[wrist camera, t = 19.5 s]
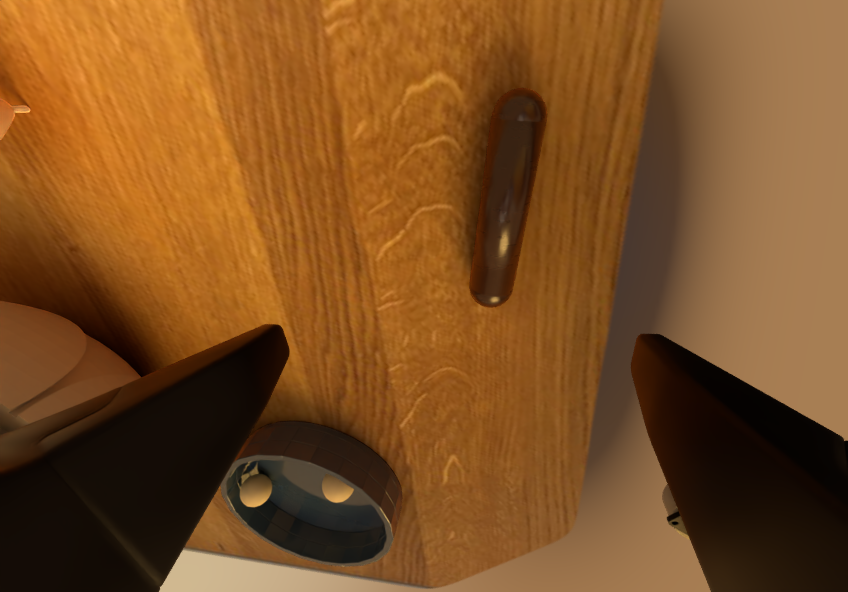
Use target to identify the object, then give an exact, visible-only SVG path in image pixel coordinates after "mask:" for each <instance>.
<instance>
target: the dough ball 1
mask: <svg viewBox="0 0 848 592" xmlns="http://www.w3.org/2000/svg"><path fill="white" fill-rule="evenodd" d="M271 491H272V483H271V480H270V479H269V478H268V477H267V476H266V475H264V474H254V475H252V476H250V477H248V478H247V479H246V480H245V481H244V483H243V484H242V486H241V489H240V499H241V501H242V502H243V504H245V505H246V506H248V507H257V506H260V505H262V504H263V503H264V502H266V501H267V499H268V498H269V496H270V494H271Z"/></svg>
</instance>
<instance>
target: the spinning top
mask: <svg viewBox="0 0 848 592" xmlns="http://www.w3.org/2000/svg"><path fill="white" fill-rule="evenodd" d="M29 112H30V108H29V107H28V106H26V105H17V106H11V105H10V104H9V103H8V102H7V101H5V100H4V99H2V98H0V140H1V139H2V138H3V136H4V135H5V133H6V132H7V130H8V129H9V127H10V125H11V123H12V121H13V119H14V117H15V113H29Z"/></svg>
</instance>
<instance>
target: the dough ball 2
mask: <svg viewBox="0 0 848 592" xmlns="http://www.w3.org/2000/svg"><path fill="white" fill-rule="evenodd" d="M322 490H323V493H324V495H325V497H326V498H327V499H328V500H330V501H332V502H336V503H338V502H343V501H345V500H346V499H348V498H349V497H350V496H351V494H352V493H353V491H354V489H353V488H351V487H349V486H348V485H346V484H345V483H343V482H342V481H340V480H338V479H337V478H335V477H333V476H331V475H328V474H326V475H325V477H324V479H323V483H322Z"/></svg>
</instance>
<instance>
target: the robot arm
mask: <svg viewBox="0 0 848 592" xmlns="http://www.w3.org/2000/svg"><path fill="white" fill-rule="evenodd" d="M288 357H289V346H288V343H287V340H286V337H285V334H284V331H283V329H282V327H281V326H280V325H276V324H265V325H262V326H260V327H258V328H255V329H253V330H251V331H248V332H246V333H244V334H241V335H239V336H237V337H234V338H232V339H230V340H227V341H225V342H223V343H220V344H218V345H216V346H213V347H211V348H209V349H206V350H204V351H202V352H199V353H197V354H195V355H192V356H190V357H188V358H185V359H183V360H181V361H179V362H176V363H174V364H172V365H169V366H167V367H165V368H162V369H160V370H158V371H155V372H153V373H151V374H148V375H146V376H144V377H141V378H139V379H137V380H134V381H132V382H130V383H127V384H125V385H124V386H123V387H122V386H121V387H118V388H116V389H113V390H111V391H109V392H106V393H104V394H102V395H99V396H97V397H94V398H92V399H90V400H87V401H85V402H82V403H80V404H78V405H75V406H73V407H70V408H68V409H65V410H63V411H60V412H58V413H55V414H53V415H50V416H48V417H45V418H43V419H40V420H38V421H35V422H32V423H30V424H27V425H25V426H22V427H20V428H17V429H14V430H12V431H9V432H7V433H4V434H2V435H0V592H159V590H160V587H161V586H162V584H163V583H164V581H165V579H166V578H167V576H168V574H169V572H170V571H171V569H172V567H173V565H174V564H175V562H176V560H177V559H178V557H179V555H180V553H181V552H182V550H183V548H184V547H185V545H186V543H187V541H188V540H189V538H190V536H191V535H192V533H193V531H194V529H195V528H196V526H197V524H198V523H199V521H200V519H201V517H202V516H203V514H204V512H205V510H206V509H207V507H208V505H209V504H210V502H211V500H212V498H213V497H214V495H215V493H216V492H217V490H218V488H219V486H220V485H221V483H222V481H223V479H224V478H225V476H226V474H227V473H228V471H229V469H230V467H231V466H232V464H233V462H234V461H235V459H236V457H237V455H238V454H239V452H240V450H241V449H242V447H243V445H244V443H245V442H246V440H247V438H248V436H249V435H250V433H251V431H252V430H253V428H254V426H255V424H256V423H257V421H258V419H259V418H260V416H261V414H262V412H263V411H264V409H265V407H266V405H267V403H268V401H269V399H270V397H271V395H272V393H273V391H274V388H275V386H276V384H277V382H278V380H279V377H280V375H281V373H282V371H283V369H284V366H285V364H286V362H287V360H288ZM631 373H632V377H633V381H634V384H635V388H636V392H637V396H638V399H639V403H640V407H641V411H642V414H643V418H644V422H645V426H646V429H647V432H648V435H649V438H650V441H651V443H652V446H653V448H654V451H655V453H656V456H657V458H658V461H659V463H660V466H661V468H662V471H663V473H664V476H665V478H666V481H667V483H668V486H669V488H670V491H671V493H672V496H673V498H674V501H675V503H676V506H677V508H678V511H677V512H675V513H673V514H671V515H669V516H668V517H667V521H668V524H669V525H671V526H672V527H674V528H676V529H677V530H679V531H681V532H683V533H684V534H686V535H688V536H689V538H690V540H691V543H692V545H693V548H694V550H695V553H696V555H697V558H698V560H699V563H700V565H701V568H702V570H703V573H704V575H705V577H706V580H707V583H708V585H709V588H710V590H711V592H848V441H844V439H843V437H841V436H840V435H838V434H836V433H834V432H833V431H831V430H829V429H827V428H826V427H824V426H822V425H820V424H818V423H816V422H815V421H813V420H811V419H809V418H808V417H806V416H804V415H802V414H801V413H799V412H797V411H795V410H794V409H792V408H790V407H788V406H787V405H785V404H783V403H781V402H779V401H778V400H776V399H774V398H772V397H771V396H769V395H767V394H765V393H763V392H762V391H760V390H758V389H756V388H754V387H753V386H751V385H749V384H747V383H746V382H744V381H742V380H740V379H739V378H737V377H735V376H733V375H731V374H729V373H728V372H726V371H724V370H722V369H721V368H719V367H717V366H715V365H713V364H712V363H710V362H708V361H706V360H705V359H703V358H701V357H699V356H698V355H696V354H694V353H692V352H691V351H689V350H687V349H685V348H683V347H682V346H680V345H678V344H676V343H675V342H673V341H671V340H669V339H667V338H666V337H664V336H662V335H660V334H640V335H639V336H638V337H637V339H636V344H635V348H634V352H633V357H632V362H631Z"/></svg>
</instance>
